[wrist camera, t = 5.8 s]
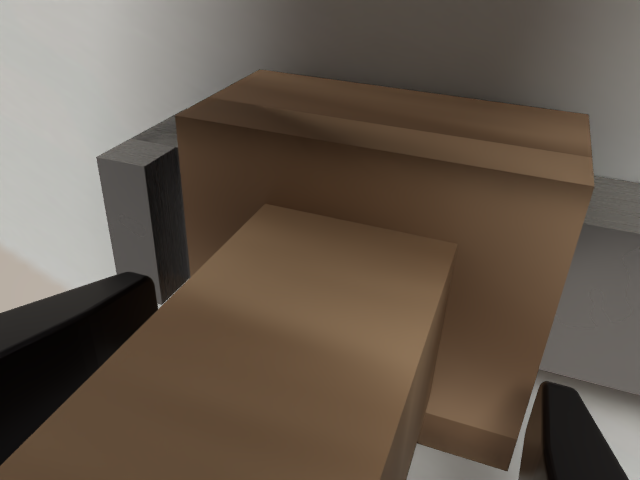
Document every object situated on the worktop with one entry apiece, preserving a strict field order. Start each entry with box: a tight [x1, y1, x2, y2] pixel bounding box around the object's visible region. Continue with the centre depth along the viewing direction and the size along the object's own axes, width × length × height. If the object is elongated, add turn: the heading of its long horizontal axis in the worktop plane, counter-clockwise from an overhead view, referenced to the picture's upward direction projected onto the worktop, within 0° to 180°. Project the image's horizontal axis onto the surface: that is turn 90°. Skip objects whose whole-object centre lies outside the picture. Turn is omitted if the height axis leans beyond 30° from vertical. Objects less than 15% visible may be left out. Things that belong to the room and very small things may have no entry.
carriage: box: [0, 70, 594, 480], centre depth 8 cm, size 5×6×8 cm
